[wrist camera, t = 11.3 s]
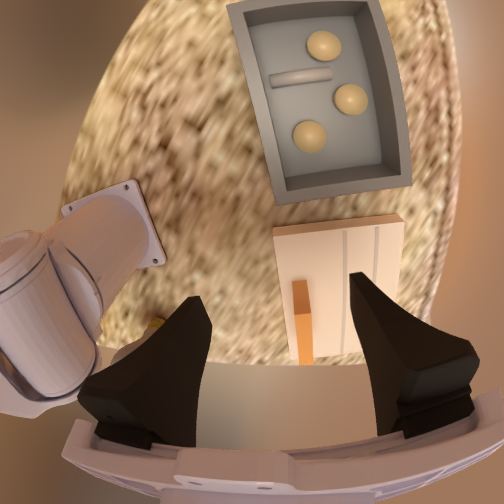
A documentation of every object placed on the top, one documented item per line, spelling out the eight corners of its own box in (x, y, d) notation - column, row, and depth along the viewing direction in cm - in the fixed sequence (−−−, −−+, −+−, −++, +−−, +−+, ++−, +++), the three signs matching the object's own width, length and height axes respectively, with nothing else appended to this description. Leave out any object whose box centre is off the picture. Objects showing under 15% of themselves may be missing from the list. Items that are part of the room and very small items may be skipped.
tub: (275, 187, 20) (276, 206, 17) (235, 23, 14) (225, 5, 11) (389, 170, 19) (412, 185, 15) (358, 9, 13) (375, -8, 9)
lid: (290, 348, 29) (291, 391, 24) (272, 227, 22) (271, 266, 17) (382, 336, 27) (395, 375, 22) (397, 213, 20) (427, 246, 15)
